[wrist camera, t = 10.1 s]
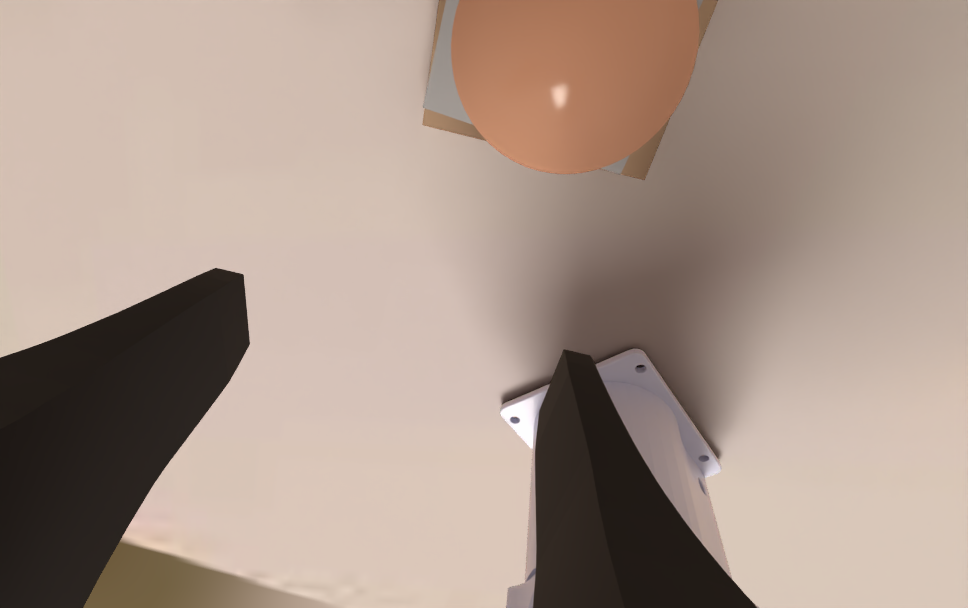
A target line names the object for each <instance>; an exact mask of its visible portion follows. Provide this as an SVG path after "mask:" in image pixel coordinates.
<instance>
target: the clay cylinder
mask: <svg viewBox="0 0 968 608" xmlns="http://www.w3.org/2000/svg"><path fill="white" fill-rule="evenodd" d="M698 42H699V11H698V5H697V0H459V3H458V6H457V9H456V13H455V18H454V23H453V28H452V39H451V61H452V69H453V75H454V81H455V84H456V88H457V92H458V95H459V97H460V100H461V102H462V105H463V107H464V109H465V111H466V113H467V115H468V117H469V118H470V120H471V122H472V123H473V125H474V126H475V127H476V129H477V130H478V131H479V133H480V134H481V135H482V136H483V137H484V138H485V139H486V140H487V142H488V143H489V144H490V145H491V146H493V147H494V148H495V149H496V150H498V151H499V152H500V153H501V154H503V155H504V156H506V157H508V158H509V159H511V160H513V161H514V162H517V163H519V164H521V165H523V166H525V167H528V168H531V169H535V170H538V171H543V172H548V173H557V174H573V173H583V172H588V171H593V170H597V169H600V168H603V167H606V166H609V165H611V164H613V163H615V162H617V161H620V160H622V159H624V158H625V157H627V156H629V155H630V154H632V153H633V152H635V151H637V150H638V149H639V148H640V147H642V146H643V145H644V144H645V143H647V142H648V141H649V140H650V139H651V138H652V137H653V136H654V135H655V134H656V133H657V132H658V131H659V130H660V129H661V128H662V127H663V125H664V124H665V123H666V122H667V120H668V119H669V118H670V117H671V115H672V114H673V112H674V110H675V109H676V107H677V106H678V104H679V102H680V101H681V99H682V97H683V95H684V92H685V90H686V88H687V86H688V84H689V81H690V78H691V75H692V72H693V69H694V65H695V60H696V56H697V51H698Z"/></svg>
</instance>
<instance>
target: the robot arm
mask: <svg viewBox="0 0 968 608" xmlns="http://www.w3.org/2000/svg"><path fill="white" fill-rule="evenodd" d="M249 345H250V341H249V330H248V319H247V308H246V297H245V286H244V275H243V274H240V273H235V272H231V271H227V270H222V269H218V268H215V269H212V270H210V271H207V272H205V273H203V274H200V275H198V276H196V277H194V278H192V279H189V280H187V281H185V282H183V283H181V284H179V285H177V286H174V287H172V288H170V289H168V290H166V291H164V292H162V293H160V294H157V295H155V296H153V297H151V298H149V299H146V300H144V301H142V302H140V303H138V304H136V305H133V306H131V307H129V308H127V309H125V310H122V311H120V312H118V313H116V314H113V315H111V316H109V317H106V318H104V319H101V320H99V321H96V322H94V323H92V324H89V325H87V326H84V327H82V328H80V329H77V330H75V331H72V332H70V333H68V334H65V335H63V336H60V337H58V338H55V339H52V340H50V341H47V342H44V343H42V344H39V345H36V346H33V347H31V348H28V349H25V350H22V351H19V352H16V353H13V354H10V355H7V356H4V357H1V358H0V608H83V607H84V605H85V603H86V601H87V599H88V597H89V595H90V593H91V592H92V590H93V588H94V586H95V584H96V582H97V580H98V578H99V577H100V575H101V573H102V571H103V569H104V568H105V566H106V564H107V562H108V561H109V559H110V557H111V555H112V554H113V552H114V550H115V548H116V546H117V545H118V543H119V541H120V540H121V538H122V536H123V534H124V533H125V531H126V529H127V527H128V526H129V524H130V522H131V521H132V519H133V517H134V516H135V514H136V512H137V511H138V509H139V507H140V506H141V504H142V503H143V501H144V499H145V498H146V496H147V494H148V493H149V491H150V489H151V488H152V486H153V484H154V483H155V481H156V480H157V479H158V477H159V476H160V474H161V473H162V471H163V470H164V468H165V467H166V466H167V464H168V463H169V462H170V460H171V459H172V458H173V456H174V455H175V454H176V452H177V451H178V450H179V448H180V447H181V446H182V444H183V443H184V442H185V440H186V439H187V438H188V436H189V435H190V434H191V432H192V431H193V430H194V428H195V427H196V426H197V424H198V423H199V422H200V420H201V419H202V418H203V416H204V415H205V414H206V412H207V411H208V410H209V408H210V407H211V406H212V404H213V403H214V402H215V400H216V399H217V398H218V396H219V395H220V394H221V392H222V391H223V389H224V388H225V387H226V385H227V384H228V383H229V381H230V379H231V377H232V376H233V374H234V372H235V371H236V369H237V367H238V365H239V363H240V362H241V360H242V358H243V356H244V354H245V352H246V350H247V348H248V347H249ZM638 365H644V366H643V367H641V368H638V367H636V366H638ZM500 415H501V417H502V418H503V419H504V420H505V421H506V422H507V423H508V424H509V425H510V426H511V427H512V429H513V430H514V431H515V432H516V433H517V434H518V435H519V436H520V437H521V438H522V439H523V440H524V442H525V443H526V444H527V445H528V446H529V447H530V448H531V449H532V467H531V485H530V502H529V520H528V537H527V554H526V572H525V583H523V584H520V585H517V586H512V587H509V588H508V593H507V605H506V608H759V607H758V606H756V605H755V604H754V603H753V602H752V601H751V600H750V599H749V598H748V597H747V596H746V595H745V594H744V593H743V591H742V590H741V589H740V588H739V587H738V586H737V585H736V583H735V582H734V581H733V580H732V577H731V573H730V569H729V566H728V562H727V558H726V555H725V551H724V547H723V544H722V540H721V536H720V533H719V529H718V525H717V522H716V518H715V515H714V511H713V507H712V504H711V500H710V496H709V493H708V489H707V485H706V482H705V478H706V477H709V476H712V475H716V474H718V473H719V472H720V471H721V469H722V468H721V464H720V461H719V460H718V458H717V457H716V456H715V454H714V453H713V451H712V450H711V448H710V447H709V445H708V444H707V442H706V441H705V440H704V438H703V437H702V435H701V434H700V432H699V431H698V429H697V428H696V426H695V425H694V424H693V422H692V421H691V419H690V418H689V416H688V415H687V413H686V412H685V410H684V409H683V408H682V406H681V405H680V403H679V402H678V400H677V399H676V397H675V396H674V394H673V393H672V392H671V390H670V389H669V387H668V386H667V384H666V383H665V381H664V380H663V378H662V377H661V376H660V374H659V373H658V371H657V370H656V368H655V367H654V365H653V364H652V362H651V361H650V360H649V358H648V357H647V355H646V354H645V352H644V351H642V350H640V349H630V350H628V351H625V352H623V353H621V354H618V355H616V356H614V357H611V358H609V359H607V360H604V361H602V362H599V363H597V364H595V363H594V361H593V359H592V357H591V356H590V355H585V354H581V353H577V352H573V351H568V350H563V353H562V355H561V358H560V360H559V363H558V365H557V368H556V370H555V373H554V375H553V378H552V380H551V383H550V384H548V385H546V386H543V387H541V388H539V389H536V390H534V391H532V392H529V393H527V394H525V395H522V396H520V397H518V398H515V399H513V400H511V401H508V402H506V403H504V404H502V406H501V408H500ZM514 416H515V417H518V418H513V417H514ZM701 455H703V456H701Z"/></svg>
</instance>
